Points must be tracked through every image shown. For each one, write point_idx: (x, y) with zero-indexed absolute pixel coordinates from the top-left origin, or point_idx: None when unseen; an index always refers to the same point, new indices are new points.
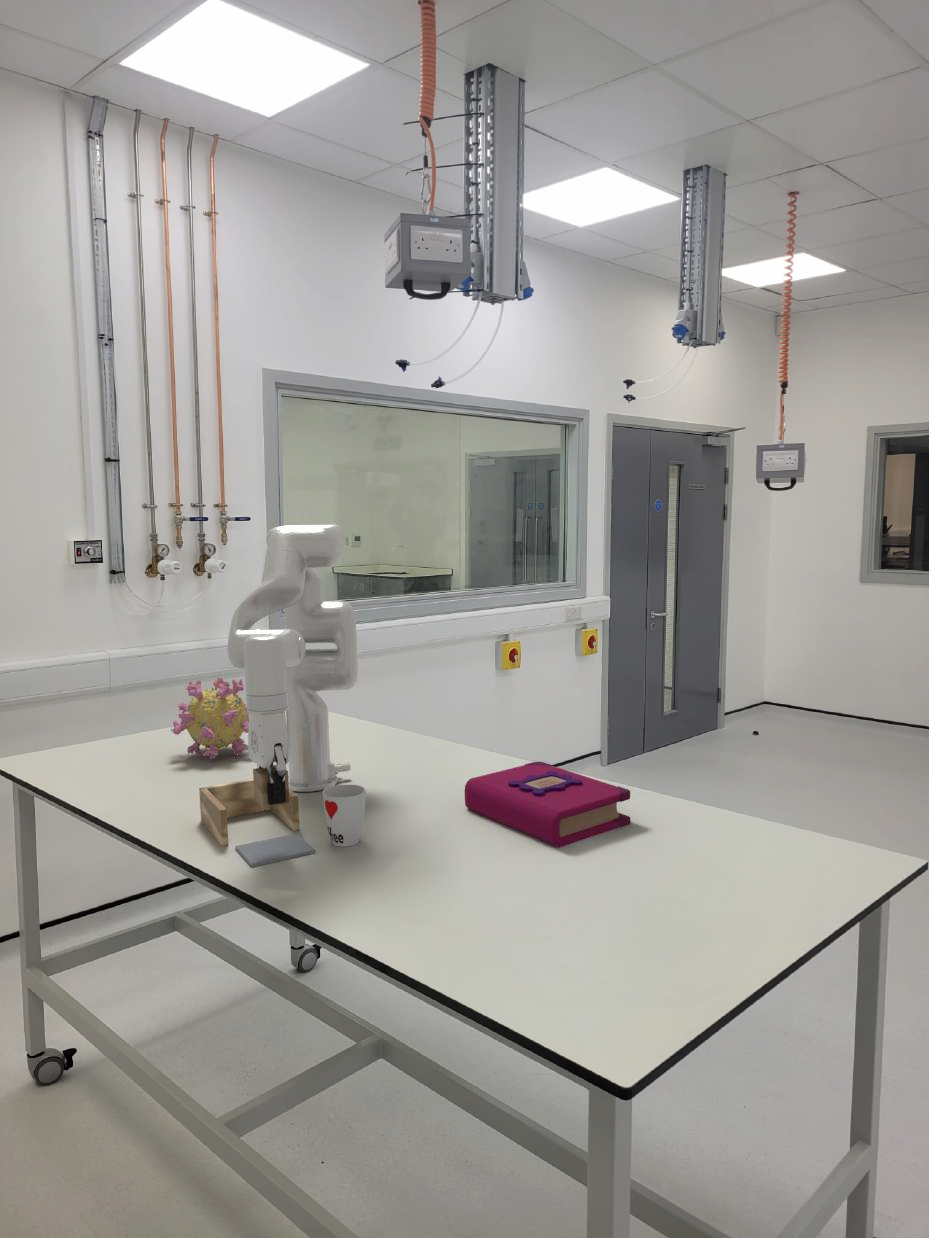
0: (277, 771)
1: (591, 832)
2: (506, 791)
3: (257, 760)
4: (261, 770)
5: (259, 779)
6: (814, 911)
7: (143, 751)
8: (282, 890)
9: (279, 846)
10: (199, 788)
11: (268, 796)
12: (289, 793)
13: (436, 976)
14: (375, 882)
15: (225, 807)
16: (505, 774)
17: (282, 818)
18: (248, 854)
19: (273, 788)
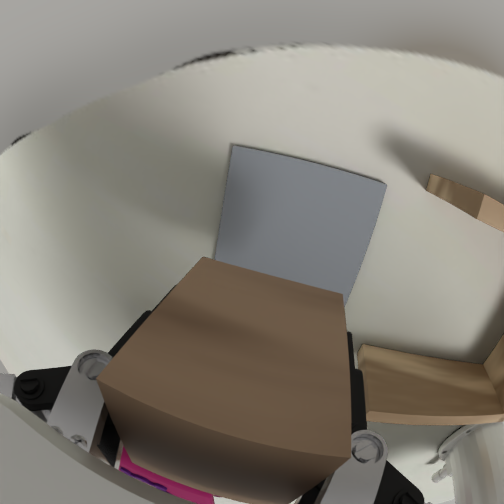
0: (4, 388)
1: None
2: (147, 475)
3: (66, 501)
4: (240, 459)
5: (171, 367)
6: (9, 370)
7: None
8: (95, 148)
9: (288, 263)
10: None
11: (158, 304)
12: (396, 415)
13: None
14: (64, 274)
15: None
16: (198, 502)
17: (428, 359)
18: (301, 174)
19: (118, 343)
